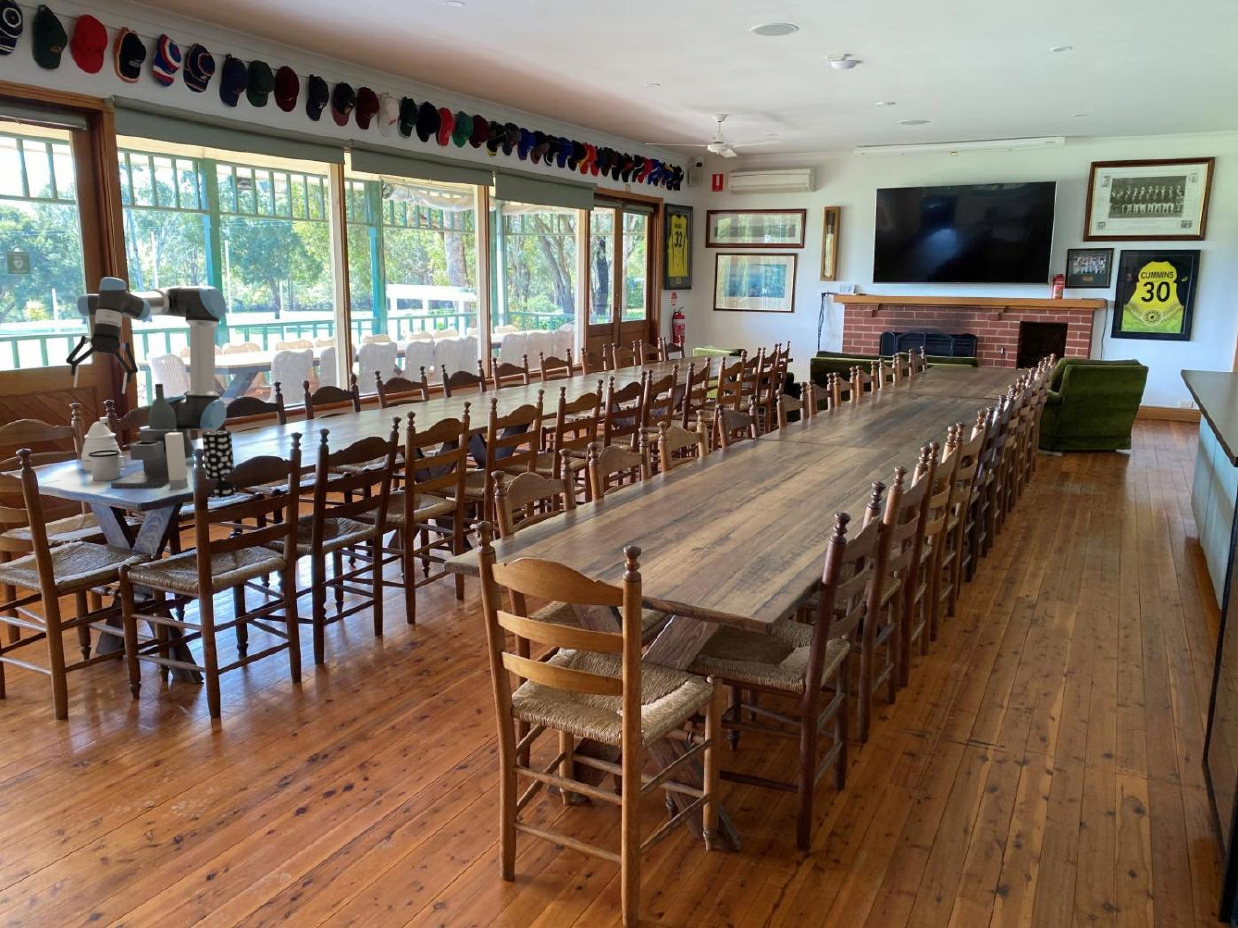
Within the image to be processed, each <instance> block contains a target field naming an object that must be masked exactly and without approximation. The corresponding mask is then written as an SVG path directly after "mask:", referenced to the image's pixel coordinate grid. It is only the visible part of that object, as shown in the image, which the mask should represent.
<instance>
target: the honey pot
mask: <svg viewBox="0 0 1238 928" xmlns="http://www.w3.org/2000/svg"><path fill="white" fill-rule="evenodd" d="M99 420H100V421H95V422H94V423H93V424H92V425H91V426H90V427H89V430H88V432H87V434H85V435H84V437H83V438H84V439H85V441H84V443H83V446H82V452H81V454H80V457H81V466H82V470H84V471H89V472H92V467H91V458H90V456H88V454H89V453H91V452H95V451H102V450H117V451H120V454H118V457H120V456H123V455H122V450H121V449H120V446H119V445H118V442H117V440H116V439H115V437H116V435H117V434H116V433H114V432H111V430H110V429H109V427H108V426H106V423H107V422H108V420H109V417H108V416H104V417H103V416H102V417H99ZM123 462H124V461H123V458H119V467H120V468H122V467H123V466H124V463H123Z"/></svg>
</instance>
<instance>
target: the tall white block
mask: <svg viewBox="0 0 1238 928" xmlns="http://www.w3.org/2000/svg"><path fill="white" fill-rule="evenodd" d="M165 442H166V452H167V463H168V473H169V489H170V490H183V489H185V488H188V486H189V485H188V483H189V482H188V476H187V475H188V471H187V472H186V470H187V464H186V462H187V461H186V457H185V451H184V440H183V433H168V434H165Z"/></svg>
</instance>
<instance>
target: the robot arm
mask: <svg viewBox="0 0 1238 928" xmlns="http://www.w3.org/2000/svg"><path fill="white" fill-rule="evenodd" d="M76 305H77V310H78V312H79V313H80V315H82V316H84V317H90V318H95V319H94V322H95V324H94V325H93V334H92V337H87V336H85V335H81V338H80V341H79V342H78V344H77V345H76V347H74V349H73V350H72V351H71V353H70V354H69V355H68V356H67V357H66V359H65V362H66V364H69V365H70V366H71V369H70V376H72V377H74V379H73V387H74V388H77V384H78V378H79V370H80V363H82V362H84V361H85V360H86V359H88V358H89V357H90V356H91V355H93V354H94V353H98V354H105V355H113V356H114V358H115V359H116V360H117V361H118V362H119V364H120V365H121V367H122V369H123V370H124V371H125V372H124V374H123V383H122V390H121V394H123V395H124V394H126V387H127V384H128V385H130V383H131V379H132V375H133V374H138V371H139V369H138V366H137V364H136V361H135V359H134V357H133V354H132V352H131V347H130V346H131V345H130V343H129V342H122V343H121V342H120V339H121V337H120V336H121V330H122V329H121V327H122V321H123V318H131V319H132V320H136V321H144V320H145V319H147V318H148V317H149V315H151V314H153V315H155V316H170V317H171V316H172V317H179V318H184V319H185V323H187V325H189V361H190V362H189V363H190V365H189V367H190V368H189V369H190V370H189V371H190V372H189V373H190V374H189V376H190V378H189V379H190V381H189V382H190V384H189V385H190V389H189V391H187V393H185V394H177V395H176V394H174V395H167V396H164V399H165V400H166V401H167V403H168V404H169V405H170V406H171V408H172V409H173V410H174V413H175V417H176V430H177V433H183V440H184V451H185V458H189V457H193V456H192V454H193V451H194V450H195V451H196V449H195V446H194V444H193V441H192V439H191V437H190V435H189V430H192V431H194V430H195V431H217V430H218V429H219V428H221V427H222V425H223V424H224V423H225V420H226V417H227V405H226V403H225V402H224V400H221V399H220V394H219V393H218V392H217V391H216V327H217V326H218V325H219V324H220V319H221V318H223V317H224V316H225V313H226V312H227V304H226V300H225V297H224V295H223V294H222V292H221V290H219V288H217V287H215V286H211V285H209V286H208V285H175V286H168V287H164V288H163V287H161V288H153V289H150V290H149V291H145V292H142V291H141V292H129V291H128V290H127V283H126V281H125V280H123V279H121V278H118V277H117V278H116V277H112V276H111V277H110V276H108V277H107V276H106V277H102V278H101V279H100V283H99V287H98V294H97V293H87V294H86V293H85V294H81V295H80V296H79V297H78V299H77V302H76ZM88 343H90V344H91V345H92V347H91V348H89V349H88V350H87V351H86V352H84V353H82V355H80V356H79V357H78V358H76V359H74V358H75V357H76V356H77V355H78V354H79V352H80V351H81V350H82V348H83V347H84V346H85V345H88ZM120 347H121V348H122V350H123V351H125V354H126V357H127V359H128V362H129V364H130V365H131V368H130V366H129V365H128V364H127V362H126V361H125V359H124V358H123V357H122V356H121V355H120V353H119V352H118V350H119V348H120ZM155 401H156V398H154V399H153V400H152V401H151V407H152V406H153V404H154V402H155Z"/></svg>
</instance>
